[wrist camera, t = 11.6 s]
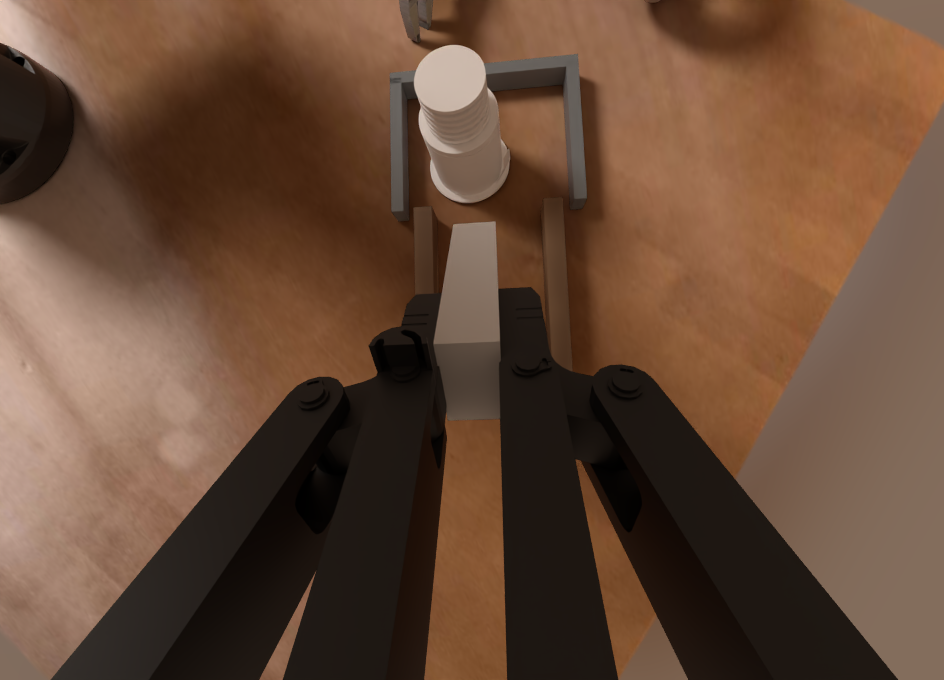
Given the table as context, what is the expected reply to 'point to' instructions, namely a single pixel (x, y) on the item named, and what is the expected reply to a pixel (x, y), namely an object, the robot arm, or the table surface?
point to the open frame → (497, 78)
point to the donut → (652, 1)
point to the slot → (551, 263)
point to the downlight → (460, 125)
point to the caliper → (416, 16)
